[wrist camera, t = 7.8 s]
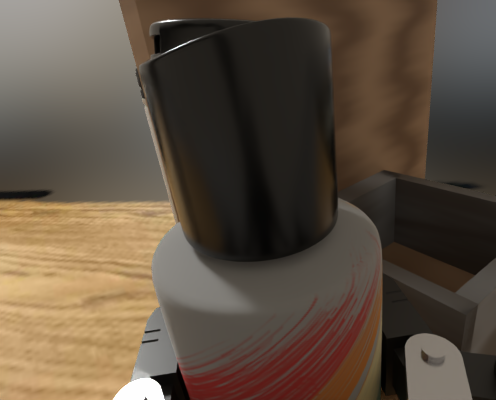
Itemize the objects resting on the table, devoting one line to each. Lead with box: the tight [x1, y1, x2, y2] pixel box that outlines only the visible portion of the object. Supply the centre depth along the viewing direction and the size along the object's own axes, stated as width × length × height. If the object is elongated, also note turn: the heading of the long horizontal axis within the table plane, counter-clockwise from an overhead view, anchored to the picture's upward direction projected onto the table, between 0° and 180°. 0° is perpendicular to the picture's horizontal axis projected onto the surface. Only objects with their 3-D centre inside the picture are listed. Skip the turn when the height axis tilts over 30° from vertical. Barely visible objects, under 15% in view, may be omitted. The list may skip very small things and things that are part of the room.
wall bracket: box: [119, 0, 496, 356], centre depth 17 cm, size 20×12×28 cm, turn 124°
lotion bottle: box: [139, 17, 382, 400], centre depth 11 cm, size 6×6×20 cm
